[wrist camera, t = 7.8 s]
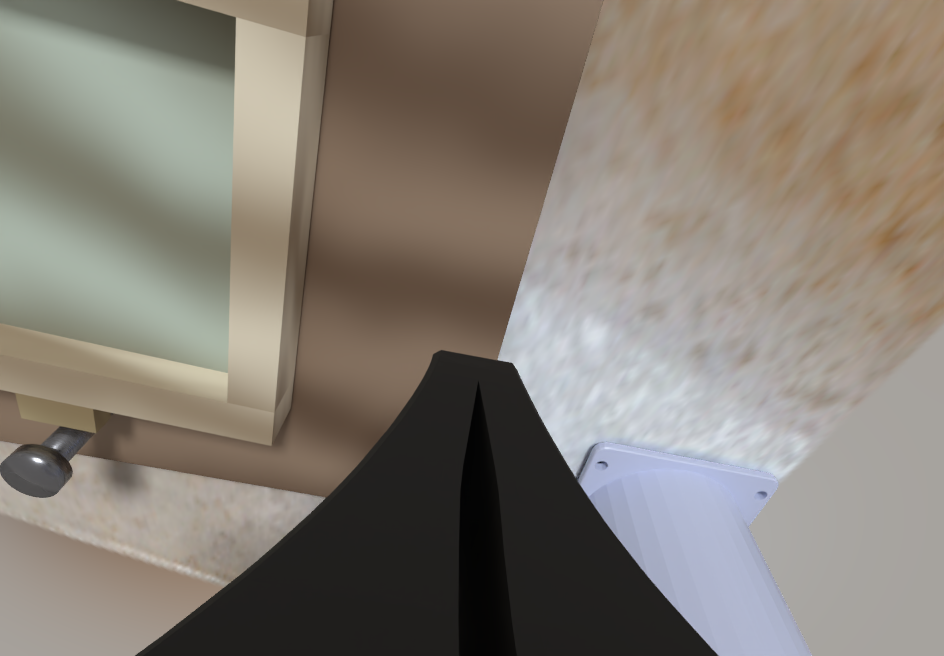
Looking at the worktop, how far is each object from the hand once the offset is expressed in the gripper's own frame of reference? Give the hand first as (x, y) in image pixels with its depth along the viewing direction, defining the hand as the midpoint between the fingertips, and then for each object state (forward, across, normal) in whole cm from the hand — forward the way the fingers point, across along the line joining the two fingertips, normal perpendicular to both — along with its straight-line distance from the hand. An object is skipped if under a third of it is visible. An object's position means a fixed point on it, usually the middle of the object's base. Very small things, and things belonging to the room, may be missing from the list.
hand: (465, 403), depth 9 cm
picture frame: (+8, +12, +1) cm, 14 cm away
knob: (+9, +12, +10) cm, 18 cm away
